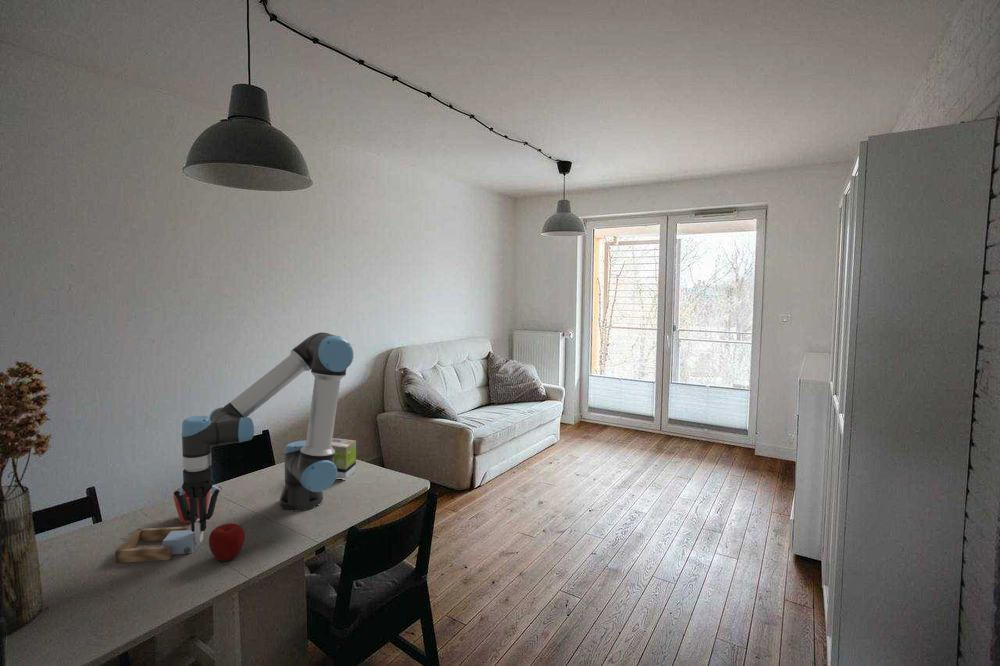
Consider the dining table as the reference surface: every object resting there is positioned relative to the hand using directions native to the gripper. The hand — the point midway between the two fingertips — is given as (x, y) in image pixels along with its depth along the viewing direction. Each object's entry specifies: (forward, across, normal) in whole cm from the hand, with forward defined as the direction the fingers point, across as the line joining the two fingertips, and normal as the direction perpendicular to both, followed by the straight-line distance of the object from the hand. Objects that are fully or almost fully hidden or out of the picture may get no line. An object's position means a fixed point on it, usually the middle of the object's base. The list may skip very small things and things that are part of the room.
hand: (199, 540), depth 159 cm
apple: (+2, -10, +7) cm, 13 cm away
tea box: (+2, -34, -55) cm, 64 cm away
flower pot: (+2, +9, -20) cm, 22 cm away
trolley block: (+2, +5, 0) cm, 5 cm away
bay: (+2, +12, 0) cm, 12 cm away
